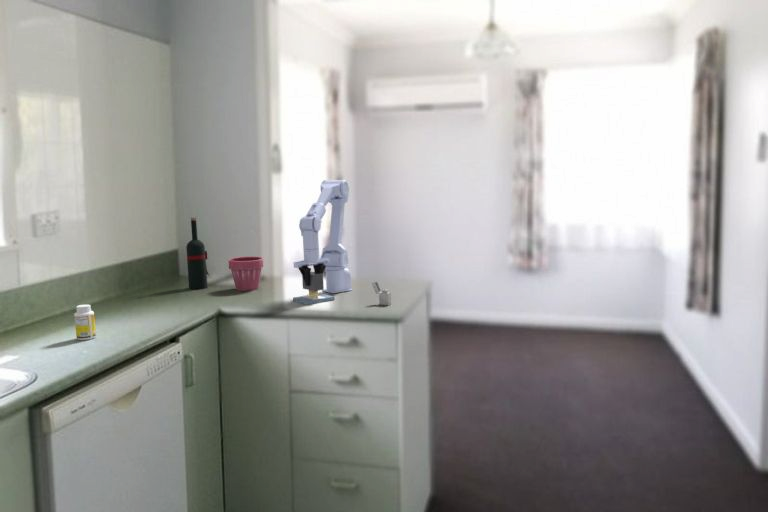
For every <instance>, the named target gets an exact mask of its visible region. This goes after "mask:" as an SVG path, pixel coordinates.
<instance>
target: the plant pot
mask: <svg viewBox="0 0 768 512" xmlns="http://www.w3.org/2000/svg"><path fill="white" fill-rule="evenodd" d="M263 258H264V257H261V256H238V257H237V256H235V257H232V258H229V259H228V269H229V270H231V275H232V279H233V282H234V286H235V289H236V291H239V292H247V291H248V292H249V291H255V290H258V289H259V287H260V286H259V285H260V280H261V276H262V275H261V273H262V268H264V259H263Z"/></svg>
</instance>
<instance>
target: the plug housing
mask: <svg viewBox="0 0 768 512" xmlns="http://www.w3.org/2000/svg"><path fill="white" fill-rule="evenodd" d="M301 277H302V279H301V280H302V289H303V290H307V291H309V290H312V291H318V292H319V291H322V290H324V289H325V288H324V273H323V274H322V273H317V272H315V271H310V286H306V285H305V281H304V278H303V276H302V275H301Z"/></svg>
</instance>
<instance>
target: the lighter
mask: <svg viewBox="0 0 768 512" xmlns="http://www.w3.org/2000/svg"><path fill="white" fill-rule="evenodd" d="M371 285H372V288H373V290H374V293H375V294H376V295H377V294H378V302H379V303H378V305H382V306H391V305H392V298H391V297H392V296H391V292H389V290H388V289H381V287H380V285H379V282H378V280H377V281H374V282H372V283H371Z"/></svg>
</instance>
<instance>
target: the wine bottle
mask: <svg viewBox="0 0 768 512" xmlns="http://www.w3.org/2000/svg"><path fill="white" fill-rule="evenodd" d="M190 226H191V240H190V241H188V242H187V244H186V246H185V248H186V262H187V264H186V265H187V279H188V290H193V291H194V290H204V289H208V276H209V275H210V273H209V271H208V269H207V268H208V267H207V262H206V261H207V260H208V252H207V250H206V249H205V247H206V246H205V243H204V242H202V240H200V239H198V227H197V226H198V225H197V217H196V216H195V217H192V216H191V217H190Z"/></svg>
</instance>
